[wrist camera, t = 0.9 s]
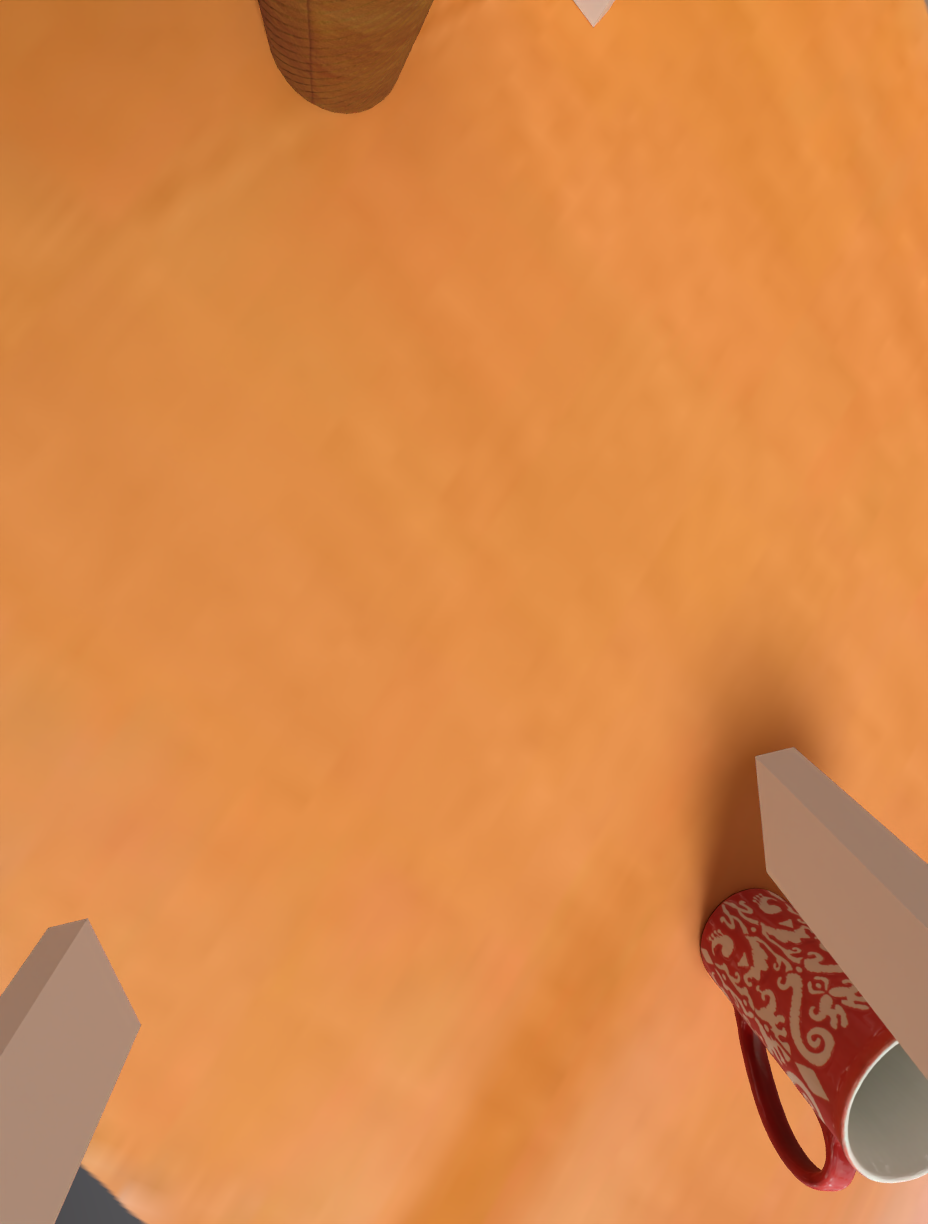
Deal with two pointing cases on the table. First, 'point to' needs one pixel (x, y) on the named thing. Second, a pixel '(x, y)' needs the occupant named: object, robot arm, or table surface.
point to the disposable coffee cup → (342, 47)
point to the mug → (816, 1046)
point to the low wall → (594, 9)
